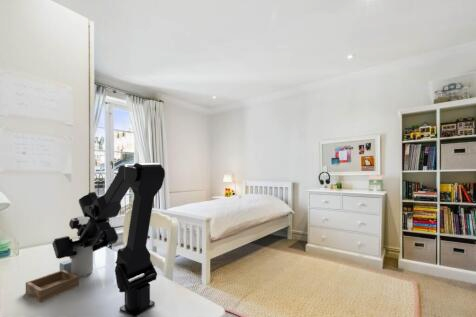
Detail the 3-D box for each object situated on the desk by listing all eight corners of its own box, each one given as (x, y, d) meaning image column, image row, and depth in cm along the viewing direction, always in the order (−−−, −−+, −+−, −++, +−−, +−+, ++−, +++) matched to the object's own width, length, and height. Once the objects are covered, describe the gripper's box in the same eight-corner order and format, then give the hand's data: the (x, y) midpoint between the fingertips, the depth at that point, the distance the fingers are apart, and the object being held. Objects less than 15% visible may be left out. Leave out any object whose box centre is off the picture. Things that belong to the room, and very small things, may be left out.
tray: (78, 286, 75) (78, 276, 75) (40, 302, 67) (40, 291, 67) (63, 278, 80) (63, 269, 80) (25, 292, 72) (25, 282, 72)
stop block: (88, 267, 89) (88, 256, 89) (63, 276, 82) (63, 264, 82) (83, 265, 91) (83, 255, 91) (59, 274, 84) (59, 262, 84)
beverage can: (67, 279, 80) (68, 243, 80) (75, 271, 86) (75, 238, 86) (89, 277, 81) (89, 241, 82) (95, 269, 88) (95, 236, 88)
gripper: (114, 205, 89) (100, 229, 96) (54, 213, 74) (42, 242, 80) (125, 229, 85) (110, 253, 91) (64, 243, 69) (50, 272, 76)
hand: (80, 254), depth 84 cm, fingers closed on beverage can, 6 cm apart
